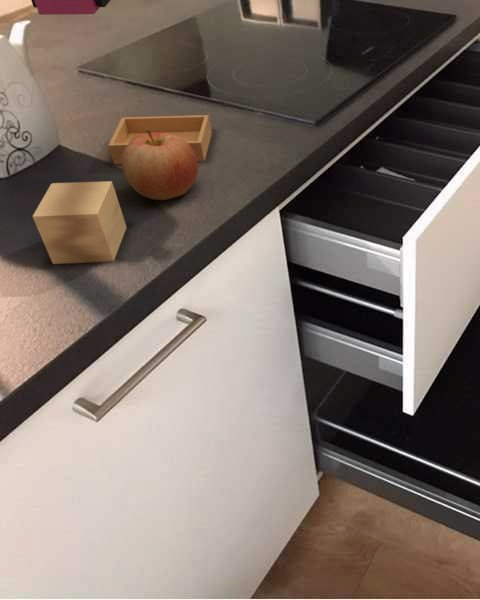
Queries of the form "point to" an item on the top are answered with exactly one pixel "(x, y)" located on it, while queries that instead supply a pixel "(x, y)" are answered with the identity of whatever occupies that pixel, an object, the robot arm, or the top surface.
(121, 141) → the tray
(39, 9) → the pink block
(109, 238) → the birch block
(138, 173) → the apple
